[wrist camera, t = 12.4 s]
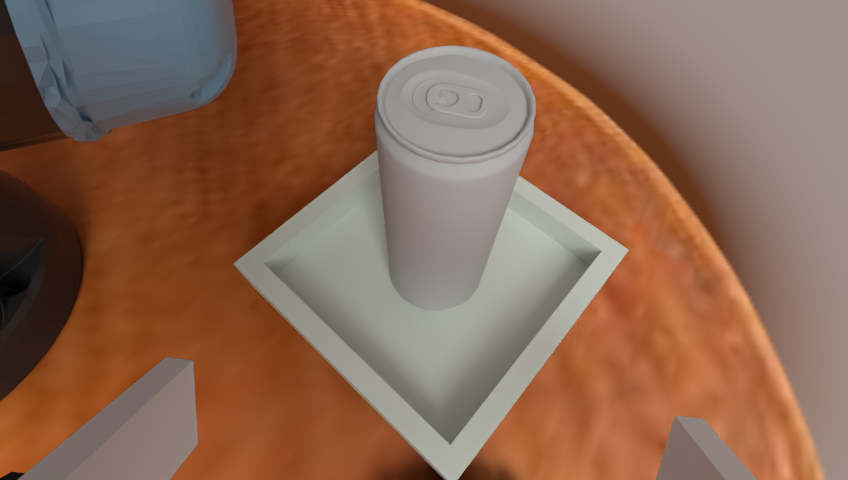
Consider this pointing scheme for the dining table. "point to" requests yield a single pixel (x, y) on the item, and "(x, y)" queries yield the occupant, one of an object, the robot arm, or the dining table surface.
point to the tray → (428, 329)
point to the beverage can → (448, 166)
